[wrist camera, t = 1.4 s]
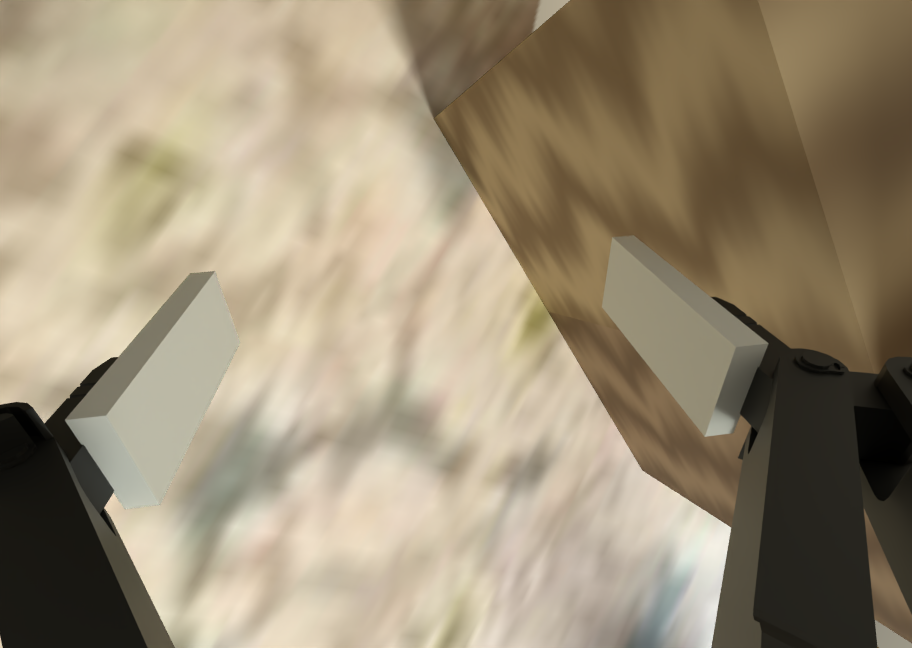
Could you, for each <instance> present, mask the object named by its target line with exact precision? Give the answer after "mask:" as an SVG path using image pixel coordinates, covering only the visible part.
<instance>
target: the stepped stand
mask: <svg viewBox="0 0 912 648" xmlns="http://www.w3.org/2000/svg"><path fill="white" fill-rule="evenodd" d="M434 120H435V121H436V123H437V125H438V126H439V128H440V130H441V131H442V133H443V135H444V136H445V138H446V140H447V142H448V143H449V145H450V147H451V148H452V150H453V152H454V153H455V155H456V157H457V158H458V160H459V162H460V163H461V165H462V167H463V168H464V170H465V172H466V174H467V175H468V177H469V179H470V180H471V182H472V184H473V185H474V187H475V189H476V190H477V192H478V194H479V195H480V197H481V199H482V201H483V202H484V204H485V206H486V207H487V209H488V211H489V212H490V214H491V216H492V217H493V219H494V221H495V222H496V224H497V226H498V228H499V229H500V231H501V233H502V234H503V236H504V238H505V239H506V241H507V243H508V244H509V246H510V248H511V249H512V251H513V253H514V255H515V256H516V258H517V260H518V261H519V263H520V265H521V266H522V268H523V270H524V271H525V273H526V275H527V276H528V278H529V280H530V281H531V283H532V285H533V287H534V288H535V290H536V292H537V293H538V295H539V297H540V298H541V300H542V302H543V303H544V305H545V307H546V308H547V310H548V312H549V314H550V315H551V317H552V319H553V320H554V322H555V324H556V325H557V327H558V329H559V330H560V332H561V334H562V335H563V337H564V339H565V341H566V342H567V344H568V346H569V347H570V349H571V351H572V352H573V354H574V356H575V357H576V359H577V361H578V362H579V364H580V366H581V367H582V369H583V371H584V373H585V374H586V376H587V378H588V379H589V381H590V383H591V384H592V386H593V388H594V389H595V391H596V393H597V394H598V396H599V398H600V400H601V401H602V403H603V405H604V406H605V408H606V410H607V411H608V413H609V415H610V416H611V418H612V420H613V421H614V423H615V425H616V427H617V428H618V430H619V432H620V433H621V435H622V437H623V438H624V440H625V442H626V443H627V445H628V447H629V448H630V450H631V452H632V453H633V455H634V457H635V459H636V460H637V462H638V464H639V465H640V467H641V469H642V470H643V471H644V472H646V473H647V474H649V475H650V476H652V477H654V478H655V479H657V480H658V481H660V482H661V483H663V484H665V485H666V486H668V487H669V488H671V489H672V490H674V491H675V492H677V493H679V494H680V495H682V496H683V497H685V498H686V499H688V500H689V501H691V502H693V503H694V504H696V505H697V506H699V507H700V508H702V509H703V510H705V511H707V512H708V513H710V514H711V515H713V516H714V517H716V518H717V519H719V520H721V521H722V522H724V523H725V524H727V525H728V526H730V527H732V521H733V515H734V509H735V503H736V497H737V491H738V485H739V479H740V473H741V467H742V461H743V460H741V459H738V456H739V454H740V451H741V449H742V446H743V444H744V442H745V439H746V437H747V434H748V432H749V430H750V427H751V425H750V424H749V423H748V422H747V421H746V420H745V419H744V418H743V417H742V415H740V418H739V420H738V423H737V425H736V428H735V430H734V433H731V434H723V435H715V436H707V437H704V435H703V434H702V433H701V431H700V430H699V429H698V428H697V426H696V425H695V424H694V423H693V421H692V420H691V419H690V418H689V416H688V415H687V414H686V413H685V411H684V410H683V409H682V408H681V406H680V405H679V404H678V402H677V401H676V400H675V399H674V397H673V396H672V395H671V394H670V392H669V391H668V390H667V389H666V387H665V386H664V385H663V384H662V382H661V381H660V380H659V379H658V377H657V376H656V375H655V373H654V372H653V371H652V370H651V368H650V367H649V366H648V365H647V363H646V362H645V361H644V360H643V358H642V357H641V356H640V355H639V353H638V352H637V351H636V350H635V348H634V347H633V346H632V344H631V343H630V342H629V341H628V339H627V338H626V337H625V336H624V334H623V333H622V332H621V331H620V329H619V328H618V327H617V326H616V324H615V323H614V322H613V321H612V319H611V318H610V317H609V315H608V314H607V313H606V312H605V310H604V309H603V308H602V302H603V296H604V289H605V282H606V276H607V269H608V262H609V255H610V249H611V242H612V237H621V236H633V235H634V236H635V237H636V238H638V239H639V240H640V241H641V242H643V243H644V244H645V245H646V246H648V247H649V248H650V249H651V250H653V251H654V252H655V253H656V254H658V255H659V256H660V257H661V258H663V259H664V260H665V261H666V262H668V263H669V264H670V265H671V266H672V267H674V268H675V269H676V270H677V271H679V272H680V273H681V274H682V275H684V276H685V277H686V278H687V279H689V280H690V281H691V282H692V283H694V284H695V285H696V286H697V287H699V288H700V289H701V290H702V291H704V292H705V293H706V294H707V295H709V296H710V297H718V298H720V299H722V300H725V301H727V302H729V303H731V304H734V305H735V306H736V307H738V308H739V309H740V310H741V311H743V312H744V313H745V314H747V315H746V316H749V317H751V318H752V319H753V320H754V321H756V322H757V325H759V324H760V325H761V326H762V327H764V328H765V329H766V330H767V331H769V332H770V333H771V334H773V335H774V336H775V337H777V338H778V339H779V340H780V341H782V342H783V343H784V344H786V345H787V346H788V347H790V348H791V349H794V348H803V349H810V350H815V351H818V352H821V353H824V354H828V355H829V356H831V357H833V358H835V359H837V360H839V361H840V362H841V363H843V364H844V365H845V366H846V367H847V368H848V370H849V371H853V372H863V373H874V374H879V373H880V371H881V369H882V367H883V366H884V364H885V362H886V361H887V360H888V359H889V358H893V357H912V0H570V1H569V2H568V3H567V4H565V5H564V6H563V7H562V8H561V9H560V10H558V11H557V12H556V13H555V14H554V15H553V16H552V17H550V18H549V19H548V20H547V21H546V22H545V23H543V24H542V25H541V26H540V27H539V28H538V29H537V30H535V31H534V32H533V33H532V34H531V35H530V36H528V37H527V38H526V39H525V40H524V41H523V42H522V43H520V44H519V45H518V46H517V47H516V48H515V49H513V50H512V51H511V52H510V53H509V54H508V55H507V56H505V57H504V58H503V59H502V60H501V61H500V62H498V63H497V64H496V65H495V66H494V67H493V68H492V69H490V70H489V71H488V72H487V73H486V74H485V75H483V76H482V77H481V78H480V79H479V80H478V81H477V82H475V83H474V84H473V85H472V86H471V87H470V88H468V89H467V90H466V91H465V92H464V93H463V94H462V95H460V96H459V97H458V98H457V99H456V100H455V101H453V102H452V103H451V104H450V105H449V106H448V107H447V108H445V109H444V110H443V111H442V112H441V113H440V114H438V115H437V116H436V117H435V118H434ZM864 517H865V527H866V537H867V547H868V558H869V568H870V578H871V588H872V599H873V609H874V619H875V620H877V621H878V622H880V623H881V624H883V625H884V626H886V627H887V628H889V629H890V630H892V631H894V632H895V633H897V634H898V635H900V636H901V637H903V638H904V639H906V640H908V641H909V642H911V643H912V614H911V612H910V610H909V608H908V605H907V603H906V601H905V599H904V597H903V594H902V592H901V590H900V588H899V585H898V583H897V581H896V579H895V576H894V574H893V572H892V570H891V567H890V565H889V563H888V561H887V559H886V556H885V554H884V552H883V550H882V547H881V545H880V543H879V541H878V538H877V536H876V534H875V532H874V529H873V527H872V525H871V523H870V521H869V518H868V516H867V514H866V512H865V509H864Z"/></svg>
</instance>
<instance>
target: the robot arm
mask: <svg viewBox="0 0 912 648" xmlns="http://www.w3.org/2000/svg"><path fill="white" fill-rule="evenodd" d="M602 308H603V309H604V310H605V312H606V313H607V314H608V315H609V317H610V318H611V319H612V321H613V322H614V323H615V324H616V326H617V327H618V328H619V329H620V331H621V332H622V333H623V334H624V336H625V337H626V338H627V339H628V341H629V342H630V343H631V344H632V346H633V347H634V348H635V350H636V351H637V352H638V353H639V355H640V356H641V357H642V358H643V360H644V361H645V362H646V363H647V365H648V366H649V367H650V368H651V370H652V371H653V372H654V373H655V375H656V376H657V377H658V379H659V380H660V381H661V382H662V384H663V385H664V386H665V387H666V389H667V390H668V391H669V392H670V394H671V395H672V396H673V397H674V399H675V400H676V401H677V402H678V404H679V405H680V406H681V408H682V409H683V410H684V411H685V413H686V414H687V415H688V416H689V418H690V419H691V420H692V421H693V423H694V424H695V425H696V426H697V428H698V429H699V430H700V431H701V433H702V434H703V435H704V437H707V436H715V435H723V434H731V433H734V430H735V428H736V425H737V423H738V420H739V418H740V415H742V417H743V418H744V419H745V420H746V421H747V422H748V423H749V424H750V425H751V427H750V430H749V432H748V434H747V437H746V439H745V442H744V444H743V446H742V449H741V451H740V454H739V456H738V459H741V460H743V461H742V467H741V473H740V479H739V485H738V491H737V497H736V503H735V509H734V515H733V521H732V527H731V533H730V539H729V545H728V551H727V557H726V563H725V569H724V575H723V581H722V587H721V593H720V599H719V605H718V611H717V617H716V623H715V629H714V635H713V641H712V647H711V648H877V640H876V629H875V619H874V609H873V599H872V588H871V578H870V568H869V558H868V547H867V537H866V527H865V517H864V509H865V512H866V514H867V516H868V518H869V521H870V523H871V525H872V527H873V529H874V532H875V534H876V536H877V538H878V541H879V543H880V545H881V547H882V550H883V552H884V554H885V556H886V559H887V561H888V563H889V565H890V567H891V570H892V572H893V574H894V576H895V579H896V581H897V583H898V585H899V588H900V590H901V592H902V594H903V597H904V599H905V601H906V603H907V605H908V608H909V610H910V612H911V614H912V357H893V358H889V359H888V360H887V361H886V362H885V364H884V366H883V367H882V369H881V371H880V373H879V374H874V373H863V372H853V371H849V370H848V368H847V367H846V366H845V365H844V364H843V363H841V362H840V361H839V360H837V359H835V358H833V357H831V356H829V355H828V354H824V353H821V352H818V351H815V350H810V349H803V348H794V349H791V348H790V347H788V346H787V345H786V344H784V343H783V342H782V341H780V340H779V339H778V338H777V337H775V336H774V335H773V334H771V333H770V332H769V331H767V330H766V329H765V328H764V327H762V326H761V325H760V324H759V325H757V322H756V321H754V320H753V319H752V318H751V317H749V316H746V315H747V314H745V313H744V312H743V311H741V310H740V309H739V308H738V307H736V306H735V305H734V304H731V303H729V302H727V301H725V300H722V299H720V298H718V297H710V296H709V295H707V294H706V293H705V292H704V291H702V290H701V289H700V288H699V287H697V286H696V285H695V284H694V283H692V282H691V281H690V280H689V279H687V278H686V277H685V276H684V275H682V274H681V273H680V272H679V271H677V270H676V269H675V268H674V267H672V266H671V265H670V264H669V263H668V262H666V261H665V260H664V259H663V258H661V257H660V256H659V255H658V254H656V253H655V252H654V251H653V250H651V249H650V248H649V247H648V246H646V245H645V244H644V243H643V242H641V241H640V240H639V239H638V238H636V237H635V236H634V235H633V236H621V237H612V242H611V249H610V255H609V262H608V269H607V276H606V282H605V289H604V296H603V302H602ZM239 344H240V340H239V337H238V335H237V332H236V329H235V326H234V323H233V320H232V318H231V315H230V312H229V309H228V306H227V303H226V301H225V298H224V295H223V292H222V289H221V286H220V284H219V281H218V278H217V275H216V272H215V271H213V272H201V273H190V274H189V275H188V277H187V278H186V279H185V280H184V281H183V282H182V284H181V285H180V286H179V287H178V288H177V289H176V291H175V292H174V293H173V294H172V295H171V296H170V298H169V299H168V300H167V301H166V302H165V303H164V305H163V306H162V307H161V308H160V309H159V310H158V312H157V313H156V314H155V315H154V316H153V317H152V319H151V320H150V321H149V322H148V323H147V324H146V326H145V327H144V328H143V329H142V330H141V331H140V333H139V334H138V335H137V336H136V337H135V339H134V340H133V341H132V342H131V343H130V344H129V346H128V347H127V348H126V349H125V350H124V351H123V353H122V354H121V355H120V356H119V357H113V358H110V359H109V360H107V361H106V362H104V363H103V364H101V365H100V366H98V367H97V368H95V369H94V370H92V371H91V373H90V374H89V375H88V376H87V377H86V378H85V379H84V380H83V381H82V383H81V384H80V387H77V388H76V389H75V390H74V391H73V393H72V394H71V395H70V398H67V399H66V400H65V401H64V403H63V404H62V405H61V406H60V407H59V408H58V409H57V410H56V411H55V413H54V414H53V415H52V416H51V417H50V418H49V419H48V420H47V421H46V423H45V424H44V423H43V421H42V420H41V418H40V417H39V416H38V414H37V413H36V411H35V410H34V409H33V407H32V406H30V405H29V404H28V403H20V402H14V403H8V404H2V405H0V636H1V641H2V646H3V648H175V647H174V645H173V643H172V641H171V639H170V637H169V635H168V633H167V631H166V629H165V627H164V625H163V623H162V621H161V619H160V617H159V615H158V613H157V611H156V609H155V606H154V604H153V602H152V600H151V598H150V596H149V594H148V592H147V590H146V588H145V586H144V584H143V582H142V580H141V578H140V576H139V574H138V572H137V570H136V568H135V566H134V564H133V562H132V560H131V558H130V556H129V554H128V552H127V550H126V548H125V546H124V543H123V541H122V539H121V537H120V535H119V533H118V531H117V529H116V527H115V525H114V523H113V521H112V519H111V517H110V516H109V514H108V513H107V511H106V510H105V509H104V507H105V505H106V504H107V502H108V500H109V499H110V497H111V495H112V494H113V493H114V494H115V496H116V497H117V499H118V500H119V501H120V503H121V504H122V506H123V507H124V509H132V508H140V507H148V506H156V505H160V504H161V502H162V500H163V498H164V496H165V494H166V492H167V490H168V488H169V486H170V484H171V482H172V480H173V478H174V476H175V474H176V472H177V470H178V468H179V466H180V464H181V462H182V460H183V458H184V456H185V453H186V451H187V449H188V447H189V445H190V443H191V441H192V439H193V437H194V435H195V433H196V431H197V429H198V427H199V425H200V423H201V421H202V419H203V417H204V415H205V413H206V411H207V409H208V407H209V405H210V403H211V401H212V399H213V397H214V395H215V393H216V391H217V389H218V387H219V385H220V383H221V381H222V379H223V377H224V375H225V373H226V371H227V369H228V367H229V365H230V362H231V360H232V358H233V356H234V354H235V352H236V350H237V348H238V346H239Z"/></svg>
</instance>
